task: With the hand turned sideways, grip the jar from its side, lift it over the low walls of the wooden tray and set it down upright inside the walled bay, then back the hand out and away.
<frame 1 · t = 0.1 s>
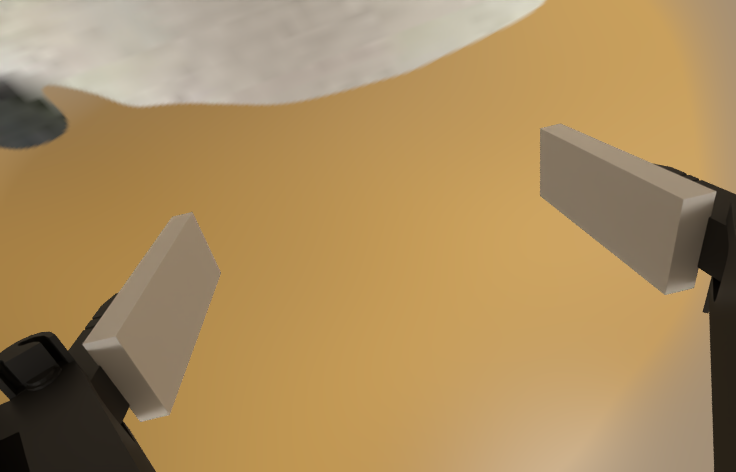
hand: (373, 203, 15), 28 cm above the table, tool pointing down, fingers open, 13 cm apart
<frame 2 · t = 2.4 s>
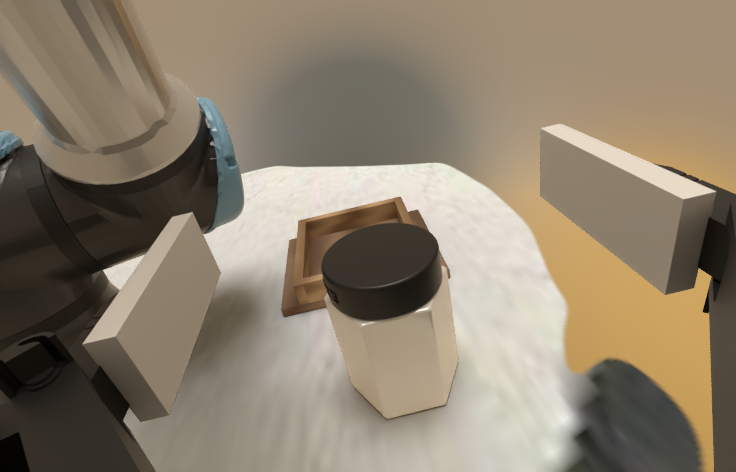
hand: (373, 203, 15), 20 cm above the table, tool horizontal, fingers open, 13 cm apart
jar: (406, 374, 34), on the table
wooden tray: (360, 259, 50), on the table
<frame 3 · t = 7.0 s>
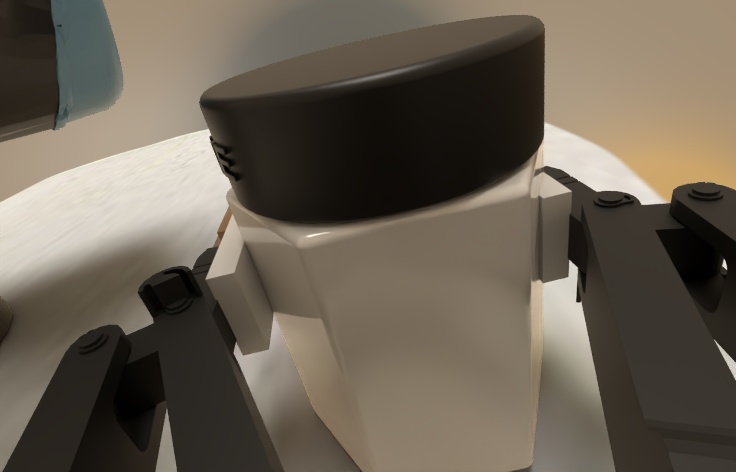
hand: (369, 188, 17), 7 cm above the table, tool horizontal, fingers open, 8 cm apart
jar: (428, 388, 16), on the table, touching gripper
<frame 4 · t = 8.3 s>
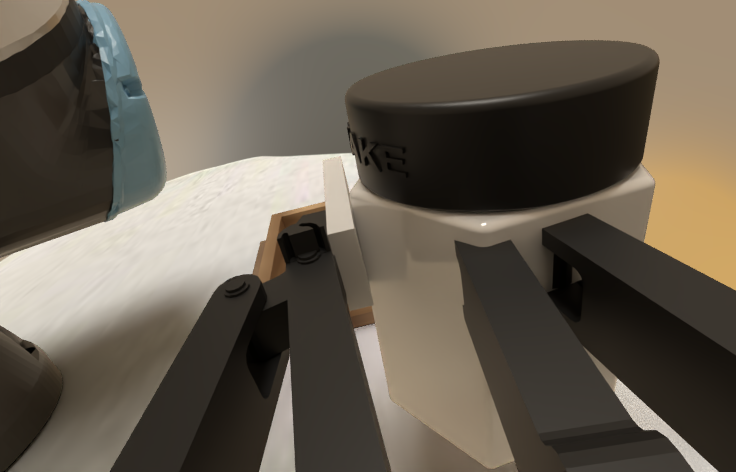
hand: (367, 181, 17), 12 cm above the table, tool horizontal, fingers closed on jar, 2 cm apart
jar: (491, 371, 17), point 4 cm above the table, touching gripper, hand
wooden tray: (356, 267, 35), on the table
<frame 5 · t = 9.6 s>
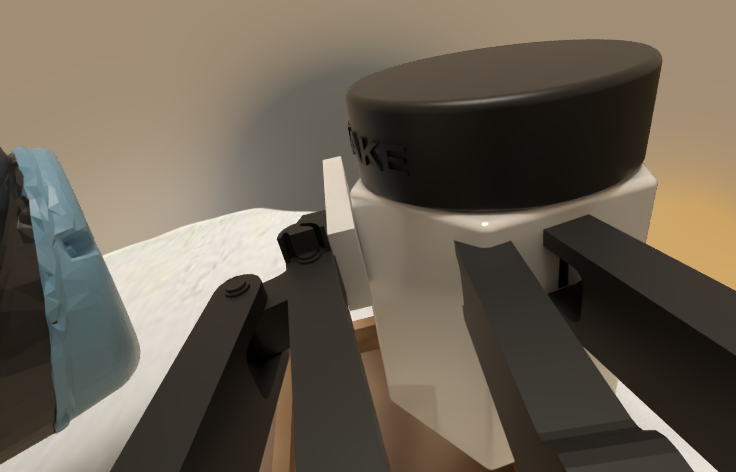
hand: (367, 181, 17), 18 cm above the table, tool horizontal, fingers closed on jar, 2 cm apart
jar: (491, 371, 17), point 10 cm above the table, touching gripper, hand
wooden tray: (394, 428, 27), on the table
when the fingers open (11 cm above the table, at t = 11.4 s): jar stays where it is, resting on wooden tray.
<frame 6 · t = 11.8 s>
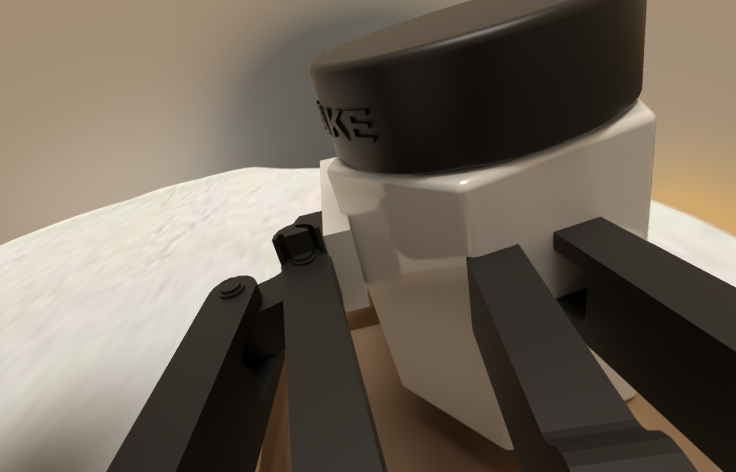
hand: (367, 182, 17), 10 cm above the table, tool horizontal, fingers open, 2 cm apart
jar: (507, 348, 16), point 3 cm above the table, touching wooden tray, gripper
wooden tray: (432, 437, 17), on the table
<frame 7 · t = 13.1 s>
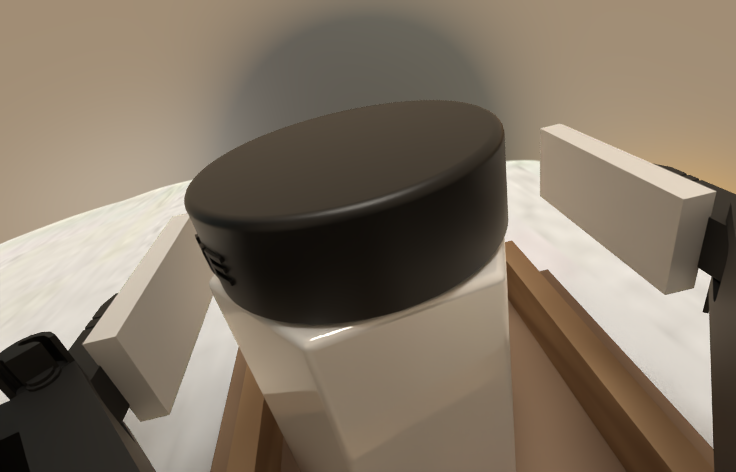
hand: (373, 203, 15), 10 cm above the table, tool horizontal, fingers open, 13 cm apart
jar: (411, 434, 16), point 1 cm above the table, touching wooden tray
wooden tray: (428, 436, 17), on the table
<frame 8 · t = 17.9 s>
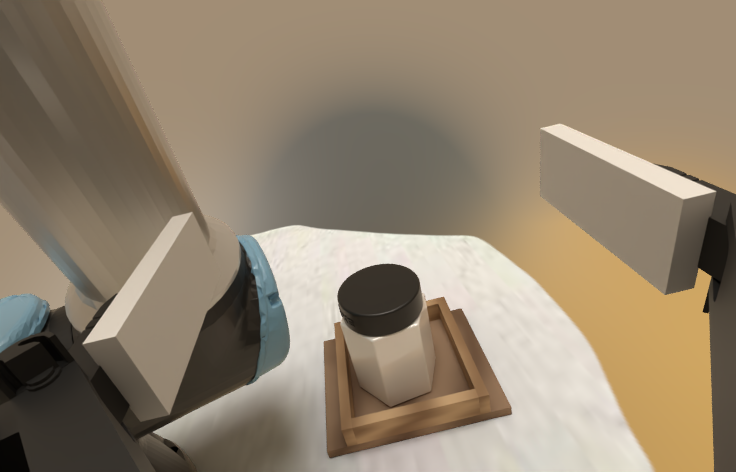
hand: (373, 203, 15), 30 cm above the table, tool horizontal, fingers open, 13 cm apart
jar: (398, 374, 45), point 1 cm above the table, touching wooden tray
wooden tray: (405, 375, 46), on the table
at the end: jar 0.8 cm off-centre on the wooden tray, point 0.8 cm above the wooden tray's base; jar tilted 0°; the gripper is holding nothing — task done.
